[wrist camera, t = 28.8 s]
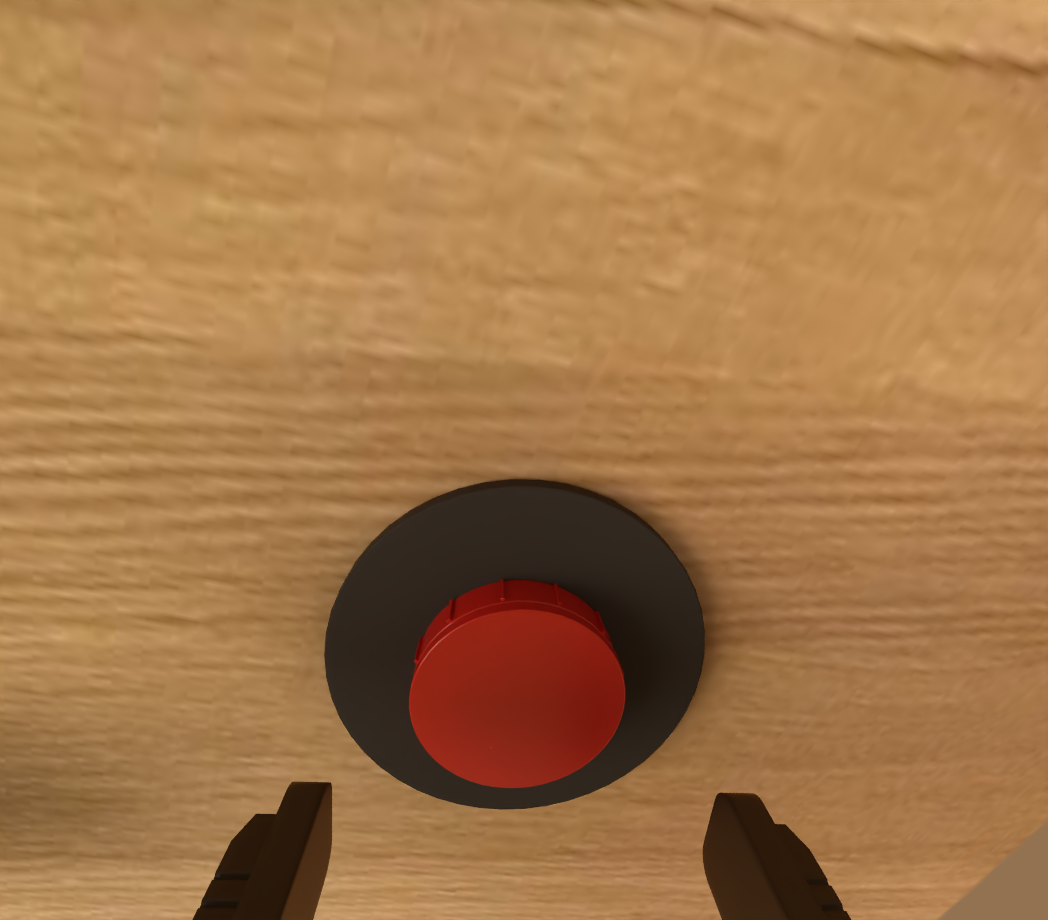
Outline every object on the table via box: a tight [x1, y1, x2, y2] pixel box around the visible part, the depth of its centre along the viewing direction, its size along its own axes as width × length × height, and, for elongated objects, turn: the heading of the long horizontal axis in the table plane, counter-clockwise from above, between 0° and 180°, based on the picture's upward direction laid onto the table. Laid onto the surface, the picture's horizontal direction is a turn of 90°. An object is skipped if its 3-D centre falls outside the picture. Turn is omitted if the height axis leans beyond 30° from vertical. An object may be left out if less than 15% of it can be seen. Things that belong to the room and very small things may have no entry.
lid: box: [409, 579, 625, 788], centre depth 14 cm, size 6×6×2 cm
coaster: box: [324, 480, 705, 809], centre depth 15 cm, size 11×11×1 cm
